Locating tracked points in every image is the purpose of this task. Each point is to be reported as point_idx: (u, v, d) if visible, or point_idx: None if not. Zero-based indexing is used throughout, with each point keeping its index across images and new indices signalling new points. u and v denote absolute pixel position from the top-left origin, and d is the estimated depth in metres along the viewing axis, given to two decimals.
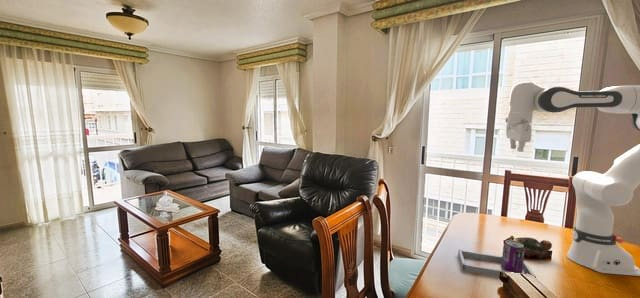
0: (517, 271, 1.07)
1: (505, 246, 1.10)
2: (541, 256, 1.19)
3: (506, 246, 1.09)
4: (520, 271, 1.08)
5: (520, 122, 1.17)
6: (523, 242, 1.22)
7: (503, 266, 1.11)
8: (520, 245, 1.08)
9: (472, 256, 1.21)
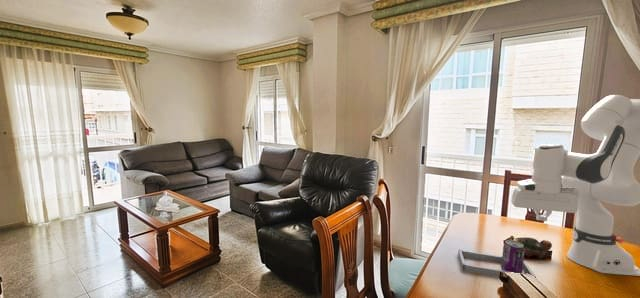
0: (517, 271, 1.07)
1: (505, 246, 1.10)
2: (541, 256, 1.19)
3: (506, 246, 1.09)
4: (520, 271, 1.08)
5: (559, 190, 1.01)
6: (523, 242, 1.22)
7: (503, 266, 1.11)
8: (520, 245, 1.08)
9: (472, 256, 1.21)
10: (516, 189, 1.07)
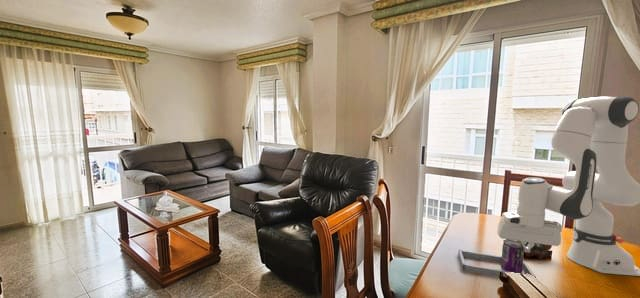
0: (517, 271, 1.07)
1: (504, 246, 1.10)
2: (541, 256, 1.19)
3: (505, 246, 1.10)
4: (520, 271, 1.07)
5: None
6: None
7: (503, 266, 1.11)
8: (519, 245, 1.08)
9: (472, 256, 1.21)
10: (502, 221, 1.10)
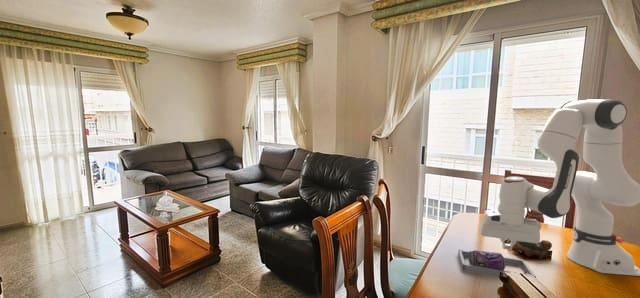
0: (500, 267, 1.08)
1: None
2: (541, 256, 1.19)
3: None
4: (501, 264, 1.08)
5: None
6: (523, 242, 1.22)
7: None
8: (472, 256, 1.12)
9: None
10: (484, 218, 1.13)
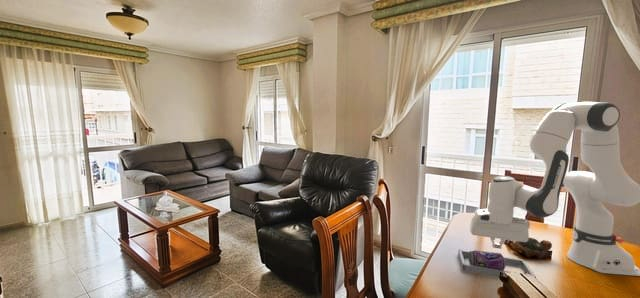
0: (500, 267, 1.08)
1: None
2: (541, 256, 1.19)
3: None
4: (501, 264, 1.08)
5: None
6: (523, 242, 1.22)
7: None
8: (472, 256, 1.12)
9: None
10: (474, 218, 1.14)
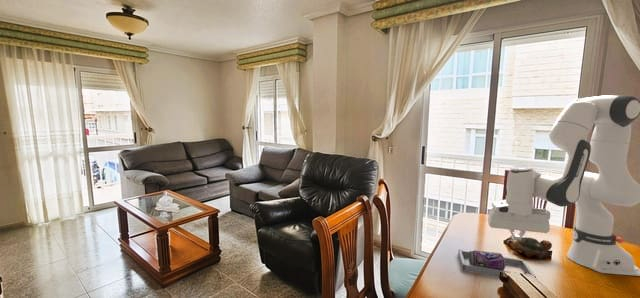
0: (500, 267, 1.08)
1: None
2: (541, 256, 1.19)
3: None
4: (501, 264, 1.08)
5: (532, 211, 1.05)
6: (523, 242, 1.22)
7: None
8: (472, 256, 1.12)
9: None
10: (491, 210, 1.11)
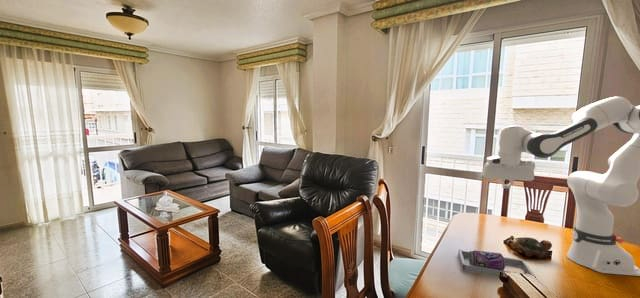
0: (500, 267, 1.08)
1: None
2: (541, 256, 1.19)
3: None
4: (501, 264, 1.08)
5: (520, 163, 1.25)
6: (523, 242, 1.22)
7: None
8: (472, 256, 1.12)
9: None
10: (486, 163, 1.31)
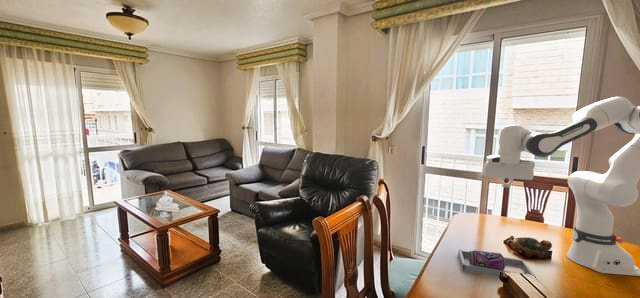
0: (500, 267, 1.08)
1: None
2: (541, 256, 1.19)
3: None
4: (501, 264, 1.08)
5: None
6: (523, 242, 1.22)
7: None
8: (472, 256, 1.12)
9: None
10: (486, 162, 1.32)
